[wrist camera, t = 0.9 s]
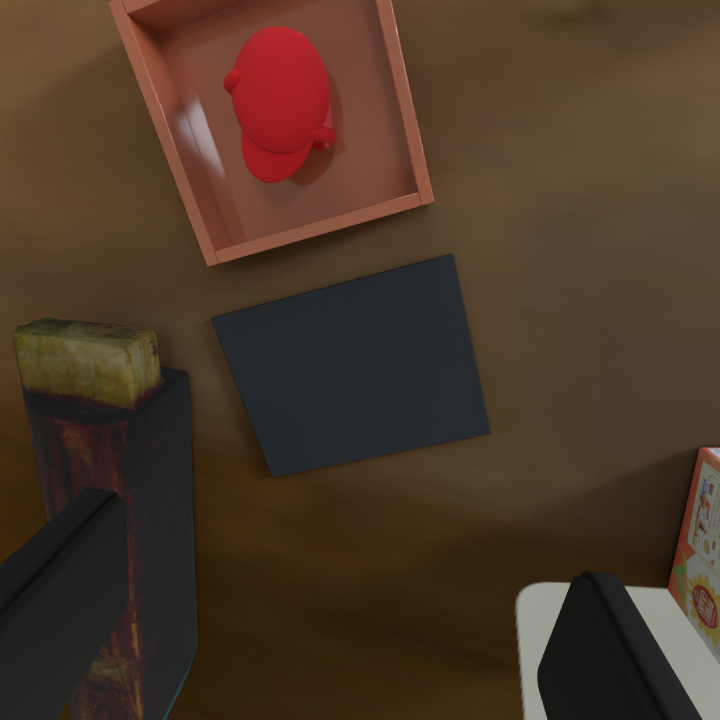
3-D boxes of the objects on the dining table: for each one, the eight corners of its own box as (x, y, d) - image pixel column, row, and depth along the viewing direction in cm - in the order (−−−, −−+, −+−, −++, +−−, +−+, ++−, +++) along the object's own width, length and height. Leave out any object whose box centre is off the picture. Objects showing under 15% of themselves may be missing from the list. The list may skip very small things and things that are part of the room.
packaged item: (69, 300, 35) (-51, 339, 26) (197, 317, 35) (122, 363, 25) (108, 667, 48) (38, 781, 39) (200, 681, 48) (152, 800, 39)
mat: (452, 253, 32) (453, 254, 31) (489, 431, 36) (490, 433, 36) (212, 317, 35) (210, 318, 34) (273, 474, 39) (272, 477, 38)
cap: (232, 50, 28) (191, 14, 23) (329, 34, 28) (311, -7, 22) (257, 188, 31) (225, 187, 25) (345, 177, 30) (334, 173, 25)
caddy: (373, -62, 26) (369, -104, 23) (430, 201, 31) (434, 202, 27) (144, 26, 29) (107, 2, 25) (228, 259, 33) (207, 267, 29)
